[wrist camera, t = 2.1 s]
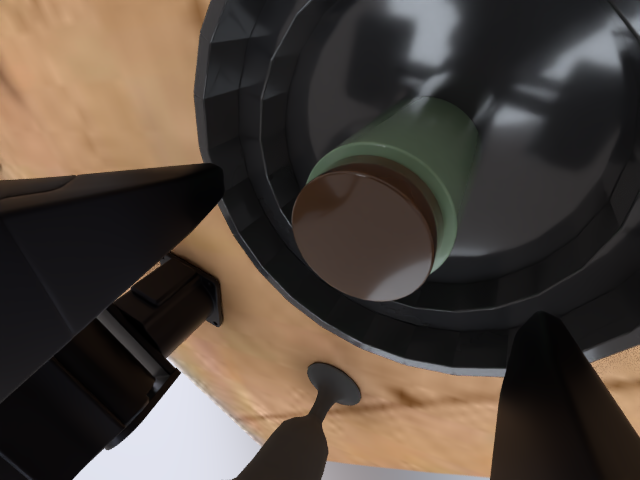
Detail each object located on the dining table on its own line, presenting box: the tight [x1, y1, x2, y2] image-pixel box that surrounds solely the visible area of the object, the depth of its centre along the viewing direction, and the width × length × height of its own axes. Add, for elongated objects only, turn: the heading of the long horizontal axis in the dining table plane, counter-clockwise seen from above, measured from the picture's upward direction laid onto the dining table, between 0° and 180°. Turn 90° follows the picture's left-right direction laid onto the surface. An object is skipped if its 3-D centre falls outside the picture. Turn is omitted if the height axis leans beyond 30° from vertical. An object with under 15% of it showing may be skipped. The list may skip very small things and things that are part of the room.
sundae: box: [232, 363, 361, 480], centre depth 22 cm, size 7×7×15 cm
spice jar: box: [292, 97, 482, 302], centre depth 11 cm, size 5×5×7 cm
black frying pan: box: [194, 0, 640, 377], centre depth 12 cm, size 16×16×4 cm
